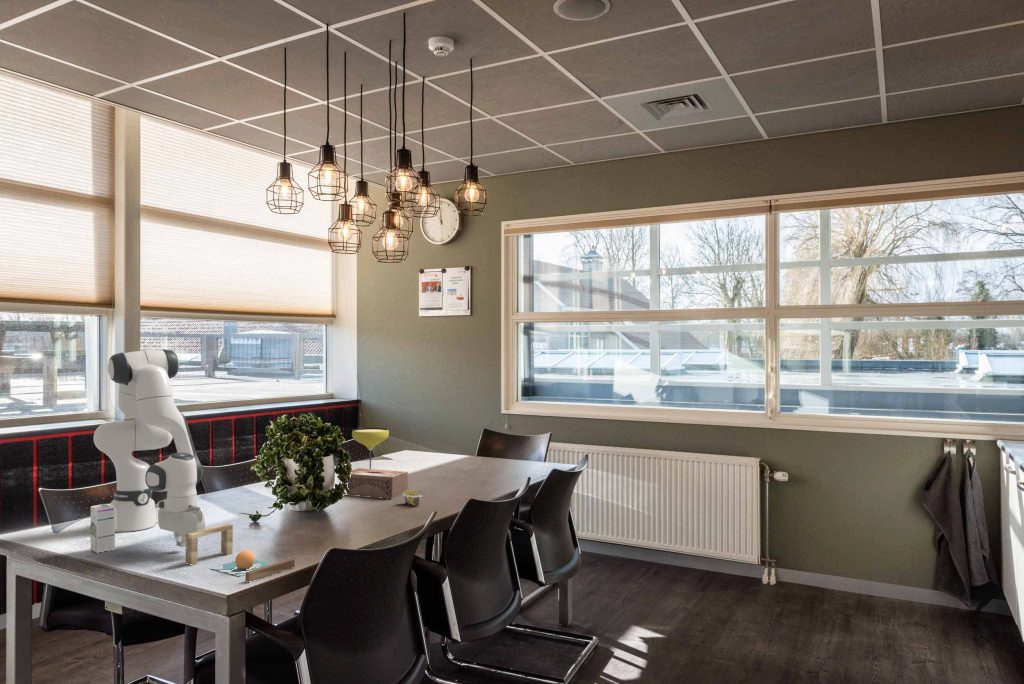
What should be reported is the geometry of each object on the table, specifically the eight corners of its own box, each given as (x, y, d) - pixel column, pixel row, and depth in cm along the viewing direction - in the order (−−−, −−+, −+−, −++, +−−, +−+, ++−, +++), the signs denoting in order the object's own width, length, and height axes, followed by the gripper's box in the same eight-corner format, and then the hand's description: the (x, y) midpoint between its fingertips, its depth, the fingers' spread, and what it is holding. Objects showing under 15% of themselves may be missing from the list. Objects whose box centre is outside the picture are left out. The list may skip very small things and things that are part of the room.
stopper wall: (245, 581, 200) (245, 572, 200) (289, 566, 214) (290, 558, 214) (250, 582, 199) (250, 573, 199) (294, 567, 213) (294, 559, 213)
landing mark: (210, 569, 211) (210, 568, 211) (246, 558, 222) (246, 557, 222) (238, 576, 204) (238, 576, 204) (274, 565, 215) (274, 564, 215)
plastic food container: (416, 511, 288) (416, 495, 288) (385, 505, 298) (385, 490, 298) (436, 506, 297) (436, 491, 297) (405, 500, 308) (405, 485, 308)
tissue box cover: (341, 495, 317) (341, 473, 317) (358, 489, 331) (358, 468, 331) (392, 500, 309) (392, 477, 309) (407, 493, 322) (407, 471, 322)
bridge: (185, 563, 216) (185, 533, 216) (226, 552, 229) (226, 523, 229) (191, 565, 215) (191, 535, 215) (232, 553, 227) (232, 524, 227)
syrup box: (115, 550, 230) (116, 505, 230) (95, 553, 226) (96, 508, 226) (109, 546, 234) (109, 502, 234) (89, 550, 229) (90, 505, 229)
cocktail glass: (393, 481, 350) (394, 430, 350) (358, 484, 341) (358, 432, 341) (381, 475, 366) (381, 427, 366) (347, 478, 357) (347, 428, 357)
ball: (230, 568, 210) (232, 550, 210) (245, 563, 215) (247, 546, 215) (242, 574, 208) (244, 556, 207) (257, 569, 212) (259, 551, 212)
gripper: (210, 505, 226) (210, 548, 226) (172, 498, 237) (171, 539, 237) (192, 509, 221) (192, 553, 221) (154, 501, 232) (154, 543, 232)
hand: (181, 546), depth 229 cm, fingers closed
